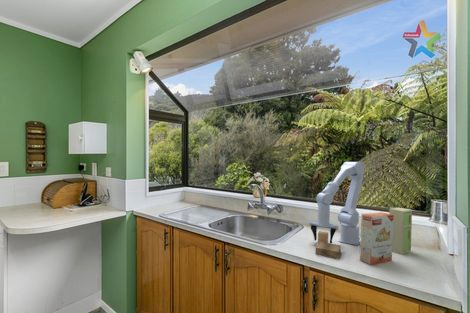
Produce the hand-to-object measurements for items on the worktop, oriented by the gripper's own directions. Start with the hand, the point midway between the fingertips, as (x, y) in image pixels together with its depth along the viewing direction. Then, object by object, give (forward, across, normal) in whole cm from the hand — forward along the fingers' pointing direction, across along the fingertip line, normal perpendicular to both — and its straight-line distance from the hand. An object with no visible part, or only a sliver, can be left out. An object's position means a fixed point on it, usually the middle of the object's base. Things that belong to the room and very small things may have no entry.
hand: (323, 241), depth 126 cm
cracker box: (+2, +24, -9) cm, 26 cm away
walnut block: (+2, +4, -11) cm, 12 cm away
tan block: (+2, 0, 0) cm, 2 cm away
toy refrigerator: (+2, +35, +11) cm, 37 cm away
